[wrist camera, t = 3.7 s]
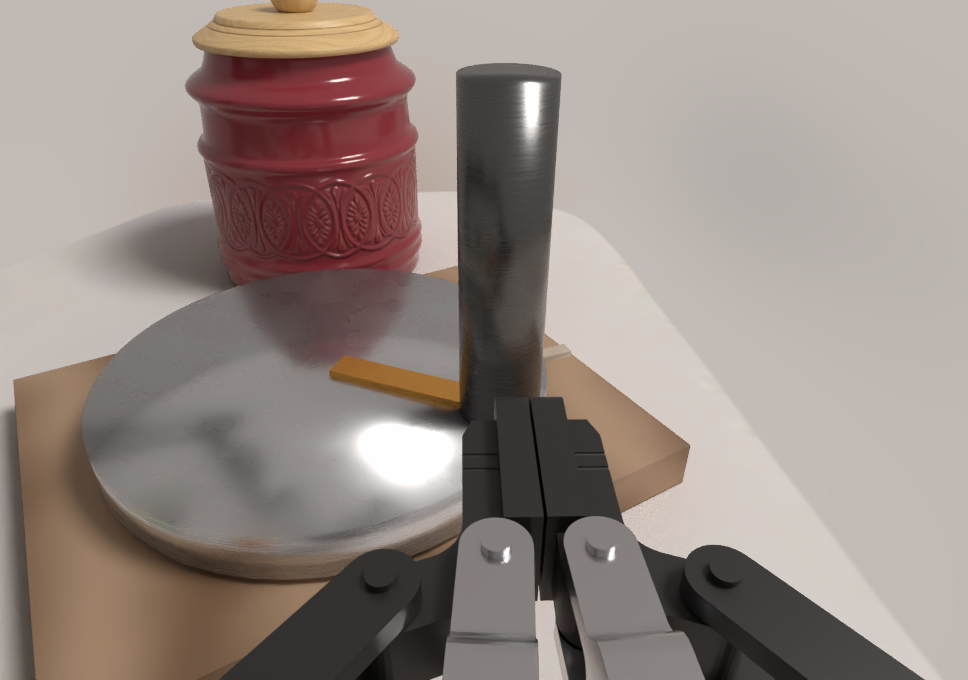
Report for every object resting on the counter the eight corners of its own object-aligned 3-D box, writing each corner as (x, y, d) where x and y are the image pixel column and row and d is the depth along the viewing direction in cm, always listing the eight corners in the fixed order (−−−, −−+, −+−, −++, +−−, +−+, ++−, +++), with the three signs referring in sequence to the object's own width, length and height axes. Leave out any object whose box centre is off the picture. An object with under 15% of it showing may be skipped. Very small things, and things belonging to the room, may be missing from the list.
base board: (65, 792, 19) (36, 746, 17) (28, 415, 32) (11, 374, 31) (682, 481, 29) (691, 439, 28) (456, 295, 43) (456, 261, 41)
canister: (410, 218, 53) (398, -45, 44) (436, 298, 42) (426, -27, 33) (234, 231, 51) (180, -45, 41) (213, 318, 40) (134, -26, 31)
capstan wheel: (-18, 491, 25) (-225, 85, 18) (278, 279, 39) (233, 6, 32) (440, 657, 20) (421, 176, 12) (589, 342, 34) (622, 32, 26)
